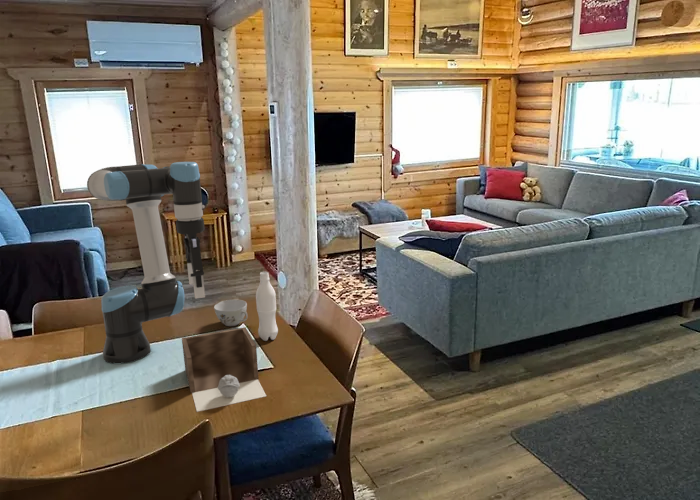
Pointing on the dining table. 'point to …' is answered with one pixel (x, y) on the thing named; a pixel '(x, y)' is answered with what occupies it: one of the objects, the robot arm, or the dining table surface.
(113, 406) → the dining table surface
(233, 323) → the teacup
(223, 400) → the panel
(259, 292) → the water bottle
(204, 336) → the crate
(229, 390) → the white sculpted head
